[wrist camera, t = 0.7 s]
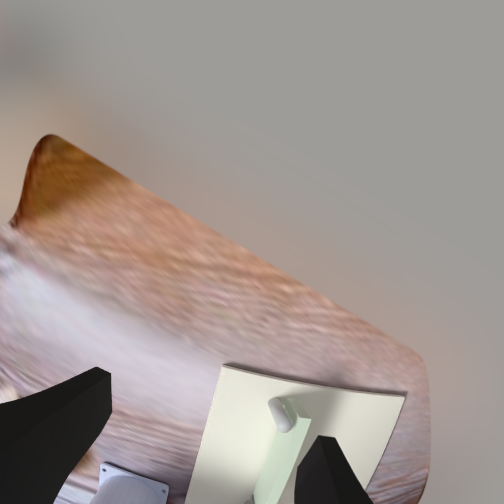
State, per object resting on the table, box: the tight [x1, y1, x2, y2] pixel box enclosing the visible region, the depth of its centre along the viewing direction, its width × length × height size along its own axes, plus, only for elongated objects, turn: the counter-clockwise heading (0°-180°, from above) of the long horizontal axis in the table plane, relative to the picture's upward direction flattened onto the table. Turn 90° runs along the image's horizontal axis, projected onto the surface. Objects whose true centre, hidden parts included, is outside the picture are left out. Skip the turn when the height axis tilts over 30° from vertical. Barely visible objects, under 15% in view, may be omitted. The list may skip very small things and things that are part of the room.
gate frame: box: [184, 364, 405, 504], centre depth 23 cm, size 18×20×6 cm
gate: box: [251, 397, 311, 504], centre depth 22 cm, size 13×1×5 cm, turn 165°
